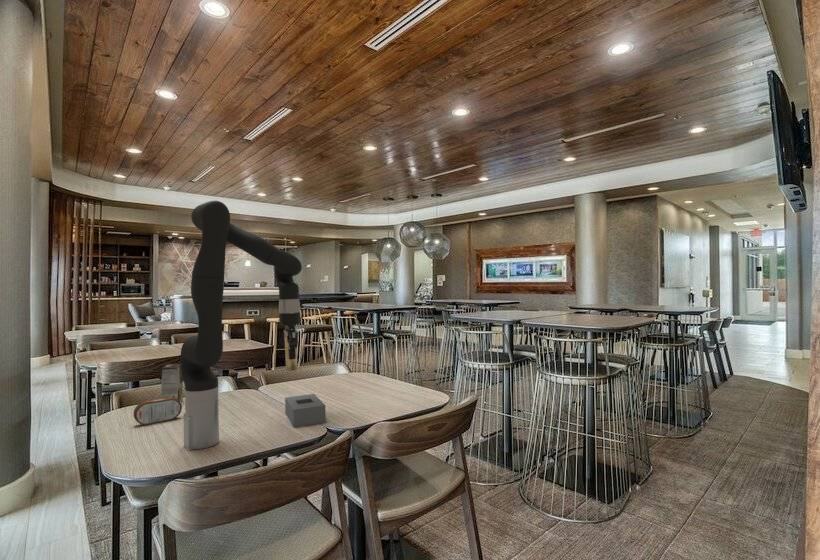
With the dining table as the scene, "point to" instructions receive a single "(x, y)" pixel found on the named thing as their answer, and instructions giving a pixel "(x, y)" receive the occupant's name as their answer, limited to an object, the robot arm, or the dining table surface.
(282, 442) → the dining table surface
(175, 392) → the coffee box
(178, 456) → the dining table surface
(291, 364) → the pin
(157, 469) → the dining table surface
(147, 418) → the tin
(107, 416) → the dining table surface
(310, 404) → the socket block
